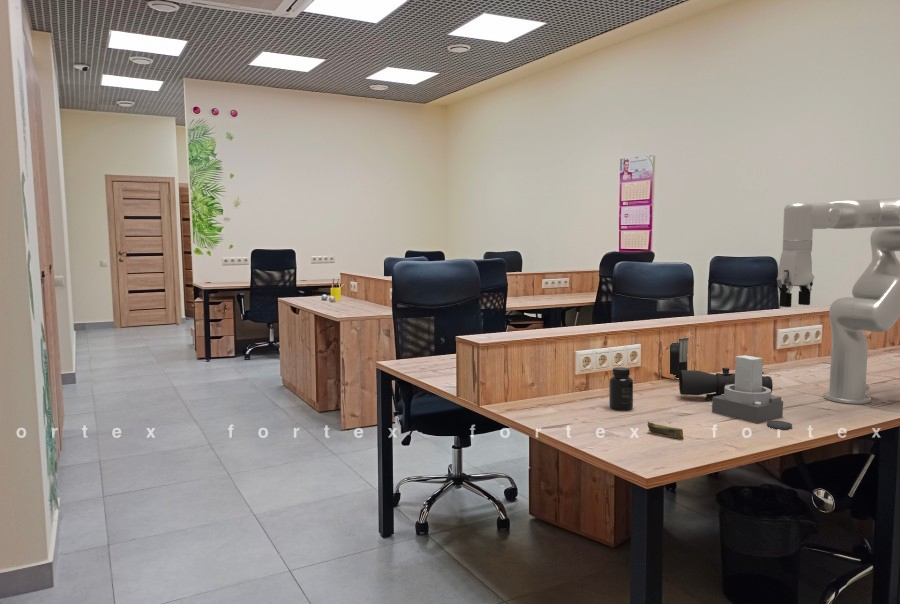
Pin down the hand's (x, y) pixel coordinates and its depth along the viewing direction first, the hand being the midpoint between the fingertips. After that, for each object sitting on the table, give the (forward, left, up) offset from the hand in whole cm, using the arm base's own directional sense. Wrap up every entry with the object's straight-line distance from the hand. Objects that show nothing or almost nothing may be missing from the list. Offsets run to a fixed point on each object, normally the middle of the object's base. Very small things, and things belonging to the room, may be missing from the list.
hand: (794, 305), depth 190 cm
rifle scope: (+7, -17, -31) cm, 36 cm away
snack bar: (+53, -3, -31) cm, 61 cm away
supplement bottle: (+41, -28, -31) cm, 58 cm away
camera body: (+17, -3, -30) cm, 35 cm away
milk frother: (-9, -44, -31) cm, 54 cm away
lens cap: (+21, +9, -31) cm, 38 cm away
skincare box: (+17, -3, -26) cm, 31 cm away
